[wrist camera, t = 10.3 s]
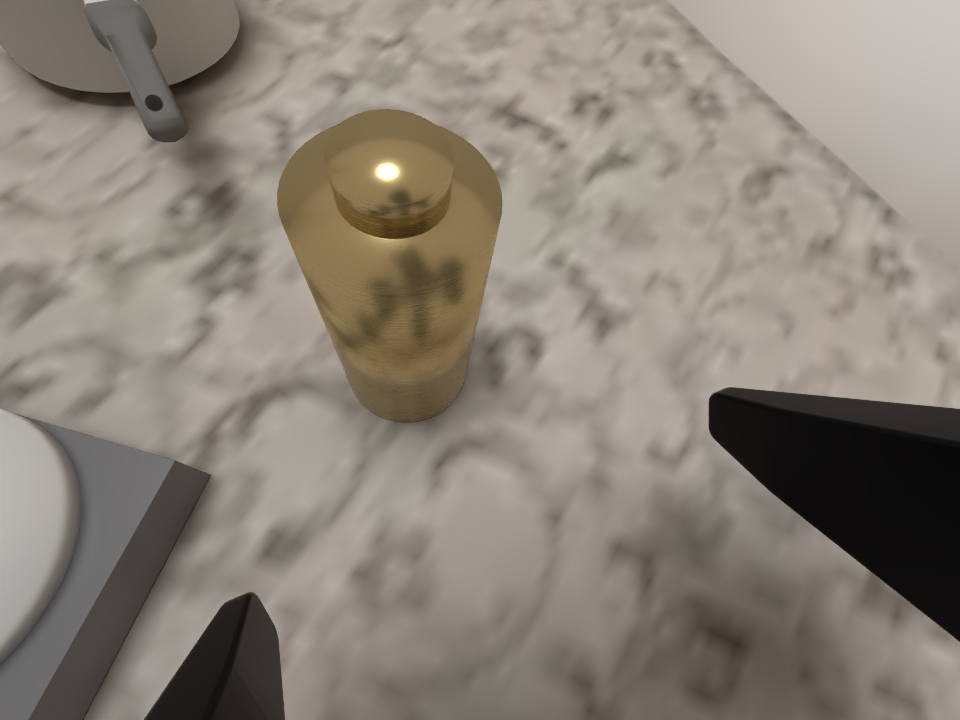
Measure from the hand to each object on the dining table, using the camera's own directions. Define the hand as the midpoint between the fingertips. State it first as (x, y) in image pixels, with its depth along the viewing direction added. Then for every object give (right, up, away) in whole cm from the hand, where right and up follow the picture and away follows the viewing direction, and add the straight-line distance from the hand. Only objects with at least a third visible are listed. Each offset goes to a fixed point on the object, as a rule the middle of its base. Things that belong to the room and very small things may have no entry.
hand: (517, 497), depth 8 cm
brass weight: (-3, +2, +10) cm, 10 cm away
